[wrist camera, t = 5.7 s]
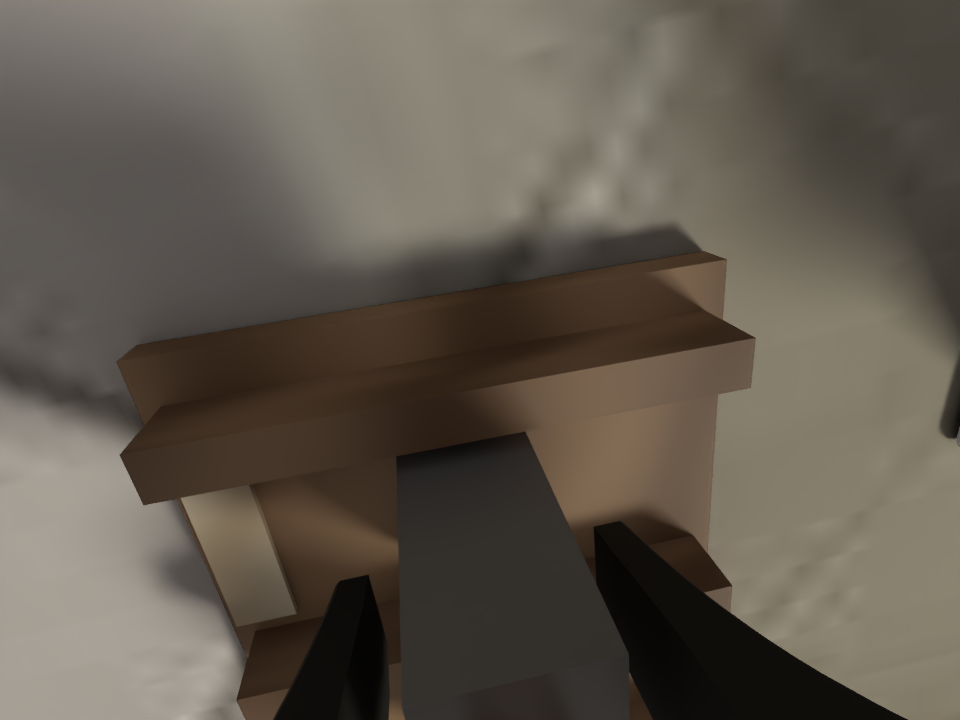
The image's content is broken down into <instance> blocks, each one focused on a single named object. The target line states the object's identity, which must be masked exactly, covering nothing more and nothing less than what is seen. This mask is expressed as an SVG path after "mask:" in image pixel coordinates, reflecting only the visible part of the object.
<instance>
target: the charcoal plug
mask: <svg viewBox="0 0 960 720" xmlns="http://www.w3.org/2000/svg"><path fill="white" fill-rule="evenodd" d="M396 462H397V507H398V551H399V596H400V640H401V685H402V710H403V714H404V717H405V720H630V700H629V653H628V651H627V649H626V647H625V645H624V643H623V641H622V638H621V636H620V634H619V632H618V630H617V628H616V625H615V623H614V621H613V619H612V617H611V615H610V613H609V610H608V608H607V606H606V604H605V602H604V600H603V597H602V595H601V593H600V591H599V589H598V587H597V585H596V582H595V580H594V578H593V576H592V574H591V572H590V569H589V567H588V565H587V563H586V561H585V559H584V557H583V554H582V552H581V550H580V548H579V546H578V544H577V541H576V539H575V537H574V535H573V533H572V531H571V529H570V526H569V524H568V522H567V520H566V518H565V516H564V513H563V511H562V509H561V507H560V505H559V503H558V501H557V498H556V496H555V494H554V492H553V490H552V488H551V485H550V483H549V481H548V479H547V477H546V475H545V473H544V470H543V468H542V466H541V464H540V462H539V460H538V457H537V455H536V453H535V451H534V449H533V447H532V445H531V442H530V440H529V438H528V436H527V434H526V432H520V433H514V434H509V435H504V436H499V437H494V438H489V439H483V440H478V441H473V442H468V443H463V444H458V445H452V446H447V447H442V448H437V449H432V450H426V451H421V452H416V453H411V454H406V455H401V456H396Z"/></svg>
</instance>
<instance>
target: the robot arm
mask: <svg viewBox="0 0 960 720" xmlns="http://www.w3.org/2000/svg"><path fill="white" fill-rule="evenodd" d="M957 444H958V446H959V447H960V428H959V431H958V435H957ZM594 546H595V567H596V585H597V587H598V589H599V591H600V593H601V595H602V597H603V600H604V602H605V604H606V606H607V608H608V610H609V613H610V615H611V617H612V619H613V621H614V623H615V625H616V628H617V630H618V632H619V634H620V636H621V638H622V641H623V643H624V645H625V647H626V649H627V651H628V653H629V673H630V675H631V677H632V679H633V681H634V683H635V685H636V687H637V689H638V691H639V693H640V695H641V697H642V699H643V701H644V703H645V705H646V707H647V709H648V711H649V713H650V715H651V717H652V719H653V720H907V719H905V718H903V717H901V716H899V715H897V714H895V713H893V712H891V711H889V710H887V709H886V708H884V707H882V706H880V705H878V704H876V703H874V702H872V701H871V700H869V699H867V698H865V697H863V696H862V695H860V694H858V693H856V692H854V691H853V690H851V689H849V688H847V687H845V686H844V685H842V684H840V683H838V682H836V681H835V680H833V679H831V678H829V677H827V676H826V675H824V674H822V673H820V672H819V671H817V670H815V669H814V668H812V667H811V666H809V665H807V664H806V663H804V662H802V661H801V660H799V659H797V658H796V657H794V656H793V655H791V654H790V653H788V652H787V651H785V650H783V649H782V648H780V647H779V646H777V645H776V644H774V643H773V642H771V641H770V640H768V639H767V638H765V637H764V636H762V635H761V634H759V633H758V632H756V631H755V630H754V629H752V628H751V627H749V626H748V625H747V624H745V623H744V622H742V621H741V620H740V619H738V618H737V617H736V616H734V615H733V614H731V613H730V612H729V611H727V610H726V609H725V608H723V607H722V606H721V605H719V604H718V603H717V602H715V601H714V600H713V599H712V598H710V597H709V596H708V595H706V594H705V593H704V592H703V591H701V590H700V589H699V588H698V587H697V586H695V585H694V584H693V583H692V582H690V581H689V580H688V579H687V578H685V577H684V576H683V575H682V574H681V573H679V572H678V571H677V570H676V569H675V568H673V567H672V566H671V565H670V564H669V563H668V562H666V561H665V560H664V559H663V558H662V557H661V556H660V555H658V554H657V553H656V552H655V551H654V550H653V549H652V548H651V547H649V546H648V545H647V544H646V543H645V542H644V541H643V540H642V539H641V538H639V537H638V536H637V535H636V534H635V533H634V532H633V531H632V530H631V529H630V528H629V527H628V526H626V525H625V524H624V523H623V522H621V521H617V522H613V523H608V524H603V525H599V526H594ZM389 702H390V686H389V663H388V644H387V639H386V636H385V632H384V628H383V625H382V621H381V618H380V614H379V611H378V607H377V603H376V600H375V596H374V593H373V589H372V585H371V582H370V578H369V575H364V576H360V577H355V578H350V579H346V580H341V581H339V582H338V583H337V585H336V586H335V588H334V591H333V593H332V596H331V599H330V601H329V604H328V606H327V609H326V611H325V613H324V616H323V618H322V620H321V623H320V625H319V627H318V630H317V632H316V634H315V636H314V639H313V641H312V643H311V645H310V647H309V649H308V652H307V654H306V656H305V658H304V660H303V662H302V664H301V666H300V668H299V670H298V672H297V674H296V676H295V679H294V681H293V682H292V684H291V686H290V688H289V690H288V692H287V694H286V696H285V698H284V700H283V701H282V703H281V705H280V707H279V709H278V711H277V713H276V714H275V716H274V718H273V720H389Z"/></svg>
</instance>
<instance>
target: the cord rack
mask: <svg viewBox="0 0 960 720" xmlns="http://www.w3.org/2000/svg"><path fill="white" fill-rule="evenodd" d="M726 263H727V259H724V258H721V257H718V256H716V255H713V254H710V253H707V252H705V251H703V252H697V253H691V254H685V255H679V256H673V257H667V258H661V259H655V260H649V261H643V262H637V263H631V264H624V265H618V266H612V267H606V268H600V269H594V270H588V271H582V272H576V273H570V274H564V275H558V276H552V277H546V278H540V279H534V280H528V281H522V282H516V283H510V284H504V285H498V286H492V287H485V288H479V289H473V290H467V291H461V292H455V293H449V294H443V295H437V296H431V297H425V298H419V299H413V300H407V301H401V302H395V303H389V304H383V305H377V306H371V307H365V308H359V309H353V310H346V311H340V312H334V313H328V314H322V315H316V316H310V317H304V318H298V319H292V320H286V321H280V322H274V323H268V324H262V325H256V326H250V327H244V328H238V329H232V330H226V331H220V332H214V333H208V334H201V335H195V336H189V337H183V338H177V339H171V340H165V341H159V342H153V343H147V344H141V345H136V346H135V347H134V348H133V349H131V350H130V351H129V352H128V353H127V354H125V355H124V356H123V357H122V358H121V359H119V360H118V361H117V364H118V366H119V369H120V371H121V373H122V376H123V378H124V380H125V382H126V385H127V387H128V389H129V391H130V394H131V396H132V398H133V401H134V403H135V405H136V407H137V410H138V412H139V414H140V416H141V419H142V421H143V423H144V425H145V426H144V427H143V428H142V429H141V430H140V432H139V433H138V434H137V435H136V436H135V438H134V439H133V440H132V441H131V442H130V443H129V445H128V446H127V447H126V448H125V449H124V450H123V452H122V453H121V454H120V456H121V459H122V461H123V463H124V465H125V467H126V469H127V471H128V473H129V475H130V478H131V480H132V482H133V484H134V486H135V488H136V490H137V492H138V494H139V496H140V499H141V501H142V503H143V505H147V504H152V503H157V502H163V501H168V500H173V499H177V500H178V503H179V505H180V507H181V509H182V512H183V514H184V516H185V518H186V521H187V523H188V525H189V528H190V530H191V532H192V534H193V537H194V539H195V541H196V543H197V546H198V548H199V550H200V552H201V555H202V557H203V559H204V562H205V564H206V566H207V568H208V571H209V573H210V575H211V577H212V580H213V582H214V584H215V586H216V589H217V591H218V593H219V596H220V598H221V600H222V602H223V605H224V607H225V609H226V611H227V614H228V616H229V618H230V621H231V623H232V625H233V627H234V630H235V632H236V634H237V636H238V639H239V641H240V643H241V645H242V648H243V650H244V652H245V655H246V657H247V663H246V667H245V671H244V674H243V678H242V682H241V685H240V689H239V693H238V696H237V700H236V701H237V703H238V705H239V707H240V709H241V711H242V713H243V715H244V717H245V720H273V718H274V716H275V714H276V713H277V711H278V709H279V707H280V705H281V703H282V701H283V700H284V698H285V696H286V694H287V692H288V690H289V688H290V686H291V684H292V682H293V681H294V679H295V676H296V674H297V672H298V670H299V668H300V666H301V664H302V662H303V660H304V658H305V656H306V654H307V652H308V649H309V647H310V645H311V643H312V641H313V639H314V636H315V634H316V632H317V630H318V627H319V625H320V623H321V620H322V618H323V616H324V613H325V611H326V609H327V606H328V604H329V601H330V599H331V596H332V593H333V591H334V588H335V586H336V585H337V583H338V582H339V581H341V580H346V579H350V578H355V577H360V576H364V575H369V578H370V582H371V585H372V589H373V593H374V596H375V600H376V603H377V607H378V611H379V614H380V618H381V621H382V625H383V628H384V632H385V636H386V639H387V644H388V663H389V686H390V702H389V720H405V717H404V714H403V710H402V685H401V640H400V596H399V551H398V507H397V462H396V456H401V455H406V454H411V453H416V452H421V451H426V450H432V449H437V448H442V447H447V446H452V445H458V444H463V443H468V442H473V441H478V440H483V439H489V438H494V437H499V436H504V435H509V434H514V433H520V432H526V434H527V436H528V438H529V440H530V442H531V445H532V447H533V449H534V451H535V453H536V455H537V457H538V460H539V462H540V464H541V466H542V468H543V470H544V473H545V475H546V477H547V479H548V481H549V483H550V485H551V488H552V490H553V492H554V494H555V496H556V498H557V501H558V503H559V505H560V507H561V509H562V511H563V513H564V516H565V518H566V520H567V522H568V524H569V526H570V529H571V531H572V533H573V535H574V537H575V539H576V541H577V544H578V546H579V548H580V550H581V552H582V554H583V557H584V559H585V561H586V563H587V565H588V567H589V569H590V572H591V574H592V576H593V578H594V580H595V582H596V567H595V546H594V526H599V525H603V524H608V523H613V522H617V521H621V522H623V523H624V524H625V525H626V526H628V527H629V528H630V529H631V530H632V531H633V532H634V533H635V534H636V535H637V536H638V537H639V538H641V539H642V540H643V541H644V542H645V543H646V544H647V545H648V546H649V547H651V548H652V549H653V550H654V551H655V552H656V553H657V554H658V555H660V556H661V557H662V558H663V559H664V560H665V561H666V562H668V563H669V564H670V565H671V566H672V567H673V568H675V569H676V570H677V571H678V572H679V573H681V574H682V575H683V576H684V577H685V578H687V579H688V580H689V581H690V582H692V583H693V584H694V585H695V586H697V587H698V588H699V589H700V590H701V591H703V592H704V593H705V594H706V595H708V596H709V597H710V598H712V599H713V600H714V601H715V602H717V603H718V604H719V605H721V606H722V607H723V608H725V609H726V610H727V611H729V612H730V607H731V596H732V585H731V583H730V582H729V581H728V580H727V578H726V577H725V576H724V574H723V573H722V572H721V570H720V569H719V568H718V567H717V565H716V564H715V563H714V561H713V560H712V559H711V557H710V556H709V555H708V538H709V523H710V507H711V492H712V477H713V461H714V446H715V431H716V416H717V400H718V394H721V393H727V392H732V391H737V390H742V389H747V388H751V382H752V371H753V361H754V350H755V339H756V338H755V337H753V336H751V335H749V334H747V333H746V332H744V331H742V330H740V329H738V328H736V327H735V326H733V325H731V324H729V323H727V322H725V321H724V320H723V309H724V293H725V278H726ZM629 700H630V720H653V719H652V717H651V715H650V713H649V711H648V709H647V707H646V705H645V703H644V701H643V699H642V697H641V695H640V693H639V691H638V689H637V687H636V685H635V683H634V681H633V679H632V677H631V675H630V673H629Z"/></svg>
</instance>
